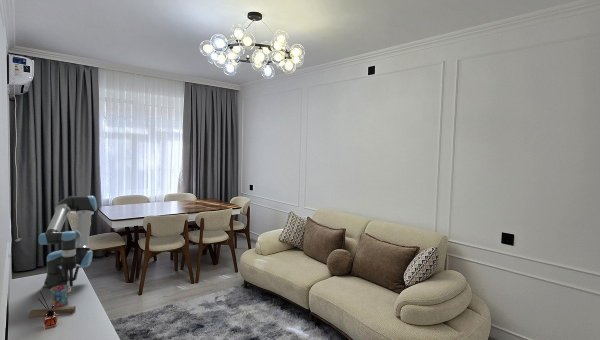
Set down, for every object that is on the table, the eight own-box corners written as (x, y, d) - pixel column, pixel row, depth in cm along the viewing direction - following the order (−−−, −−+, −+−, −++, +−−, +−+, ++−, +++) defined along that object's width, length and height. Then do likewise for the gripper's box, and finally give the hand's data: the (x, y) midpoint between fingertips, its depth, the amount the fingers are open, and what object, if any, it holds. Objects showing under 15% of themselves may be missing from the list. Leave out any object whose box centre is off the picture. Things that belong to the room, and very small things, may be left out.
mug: (50, 309, 196) (50, 292, 196) (50, 303, 203) (49, 287, 203) (74, 304, 204) (74, 287, 203) (73, 298, 211) (73, 282, 210)
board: (31, 314, 189) (31, 309, 189) (75, 310, 195) (75, 305, 195) (29, 317, 187) (29, 312, 186) (73, 313, 192) (73, 308, 192)
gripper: (54, 257, 207) (54, 294, 208) (78, 256, 210) (78, 292, 211) (59, 254, 214) (60, 290, 215) (82, 253, 217) (82, 288, 218)
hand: (69, 291), depth 213 cm, fingers closed
